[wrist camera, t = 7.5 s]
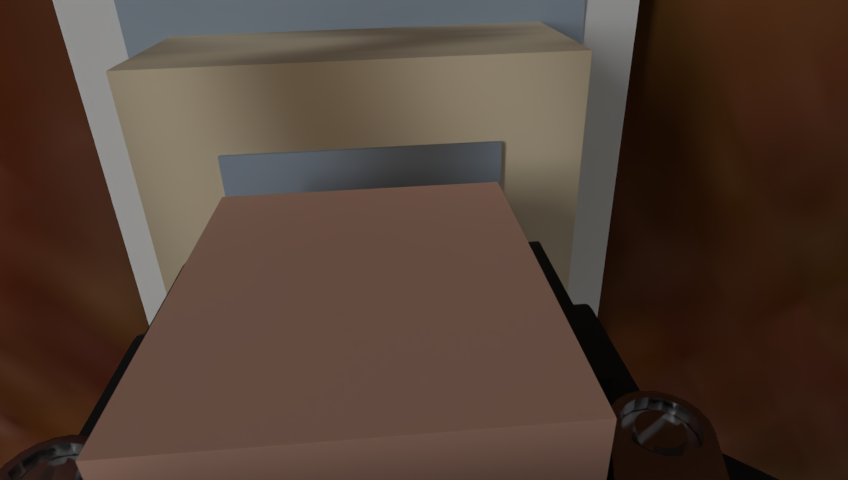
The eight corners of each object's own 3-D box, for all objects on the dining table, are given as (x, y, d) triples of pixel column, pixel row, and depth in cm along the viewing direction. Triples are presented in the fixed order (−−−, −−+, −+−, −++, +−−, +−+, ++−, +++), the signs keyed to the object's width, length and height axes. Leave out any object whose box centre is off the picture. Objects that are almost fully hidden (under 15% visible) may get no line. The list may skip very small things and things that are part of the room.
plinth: (539, 21, 15) (594, 50, 11) (521, 317, 19) (557, 409, 15) (171, 35, 14) (102, 71, 11) (236, 337, 18) (203, 437, 15)
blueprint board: (642, -96, 14) (653, -97, 14) (584, 361, 21) (591, 374, 20) (42, -79, 14) (27, -79, 13) (177, 391, 20) (171, 405, 19)
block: (497, 181, 11) (616, 418, 6) (490, 389, 13) (570, 694, 8) (222, 197, 11) (74, 461, 5) (264, 407, 13) (191, 735, 8)
